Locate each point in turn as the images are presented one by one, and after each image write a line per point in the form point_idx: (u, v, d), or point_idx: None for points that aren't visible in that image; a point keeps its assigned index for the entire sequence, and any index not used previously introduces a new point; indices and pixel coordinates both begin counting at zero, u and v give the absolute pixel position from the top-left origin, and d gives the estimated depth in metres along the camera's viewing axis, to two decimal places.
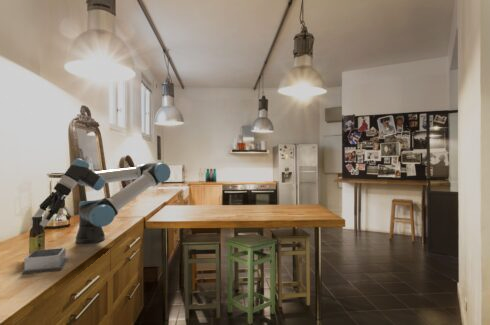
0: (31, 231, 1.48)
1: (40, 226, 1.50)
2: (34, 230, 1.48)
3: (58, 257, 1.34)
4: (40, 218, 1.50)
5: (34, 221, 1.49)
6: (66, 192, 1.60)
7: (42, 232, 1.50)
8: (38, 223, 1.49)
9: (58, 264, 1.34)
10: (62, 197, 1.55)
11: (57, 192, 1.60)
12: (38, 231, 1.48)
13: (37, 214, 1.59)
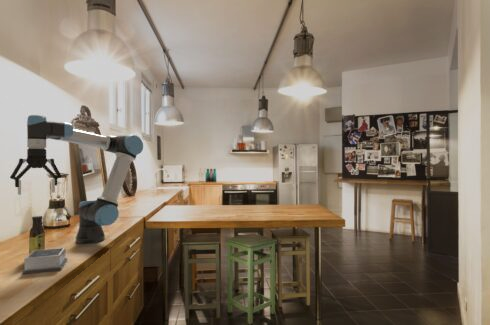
0: (31, 231, 1.48)
1: (40, 226, 1.50)
2: (34, 230, 1.48)
3: (58, 257, 1.34)
4: (40, 218, 1.50)
5: (34, 221, 1.49)
6: None
7: (42, 232, 1.50)
8: (38, 223, 1.49)
9: (58, 264, 1.34)
10: None
11: (36, 158, 1.49)
12: (38, 231, 1.48)
13: None
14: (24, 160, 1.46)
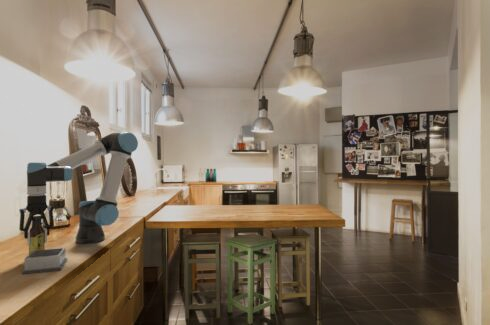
0: (31, 231, 1.48)
1: (40, 226, 1.50)
2: (34, 230, 1.48)
3: (58, 257, 1.34)
4: (39, 218, 1.50)
5: (33, 221, 1.49)
6: None
7: (42, 232, 1.50)
8: (38, 223, 1.49)
9: (58, 264, 1.34)
10: None
11: (36, 204, 1.49)
12: (38, 231, 1.48)
13: None
14: (24, 209, 1.46)
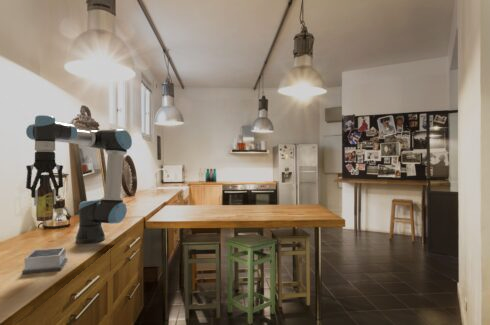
0: (38, 190, 1.36)
1: (48, 185, 1.38)
2: (41, 189, 1.36)
3: (58, 257, 1.34)
4: (48, 176, 1.38)
5: (41, 179, 1.37)
6: None
7: (50, 192, 1.38)
8: (46, 181, 1.37)
9: (58, 264, 1.34)
10: None
11: (45, 161, 1.37)
12: (46, 190, 1.36)
13: None
14: (32, 166, 1.34)
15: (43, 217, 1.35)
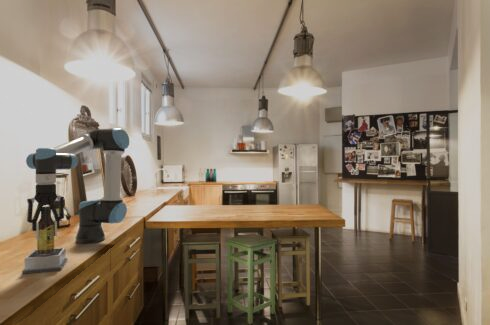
0: (39, 223, 1.35)
1: (49, 217, 1.37)
2: (43, 222, 1.35)
3: (58, 257, 1.34)
4: (49, 209, 1.38)
5: (42, 212, 1.36)
6: None
7: (51, 224, 1.37)
8: (47, 214, 1.37)
9: (58, 264, 1.34)
10: None
11: (46, 194, 1.37)
12: (47, 223, 1.36)
13: None
14: (33, 199, 1.34)
15: (44, 250, 1.35)
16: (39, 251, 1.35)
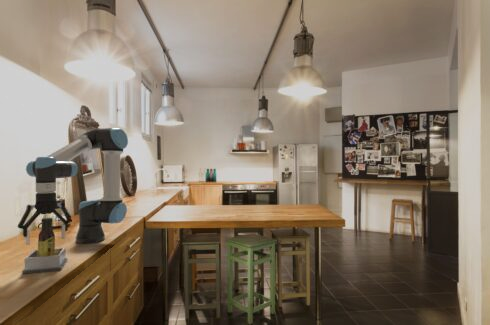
0: (40, 234, 1.36)
1: (50, 229, 1.38)
2: (44, 233, 1.36)
3: (58, 257, 1.34)
4: (50, 220, 1.38)
5: (44, 224, 1.37)
6: None
7: (52, 236, 1.38)
8: (48, 226, 1.37)
9: (58, 264, 1.34)
10: None
11: (46, 203, 1.37)
12: (48, 234, 1.36)
13: None
14: (32, 206, 1.34)
15: None
16: None
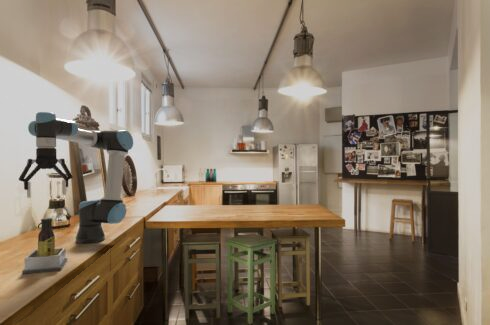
0: (40, 235, 1.36)
1: (50, 229, 1.38)
2: (43, 233, 1.36)
3: (58, 257, 1.34)
4: (50, 220, 1.38)
5: (43, 224, 1.37)
6: None
7: (52, 236, 1.38)
8: (48, 226, 1.37)
9: (58, 264, 1.34)
10: None
11: (46, 158, 1.39)
12: (48, 235, 1.36)
13: None
14: (33, 160, 1.36)
15: None
16: None
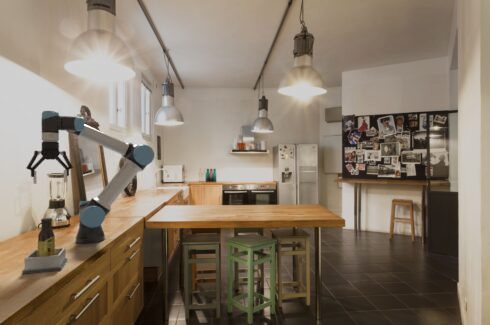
0: (40, 235, 1.36)
1: (50, 229, 1.38)
2: (43, 233, 1.36)
3: (58, 257, 1.34)
4: (50, 220, 1.38)
5: (43, 224, 1.37)
6: None
7: (52, 236, 1.38)
8: (48, 226, 1.37)
9: (58, 264, 1.34)
10: None
11: (50, 150, 1.61)
12: (48, 235, 1.36)
13: None
14: (39, 152, 1.59)
15: None
16: None
